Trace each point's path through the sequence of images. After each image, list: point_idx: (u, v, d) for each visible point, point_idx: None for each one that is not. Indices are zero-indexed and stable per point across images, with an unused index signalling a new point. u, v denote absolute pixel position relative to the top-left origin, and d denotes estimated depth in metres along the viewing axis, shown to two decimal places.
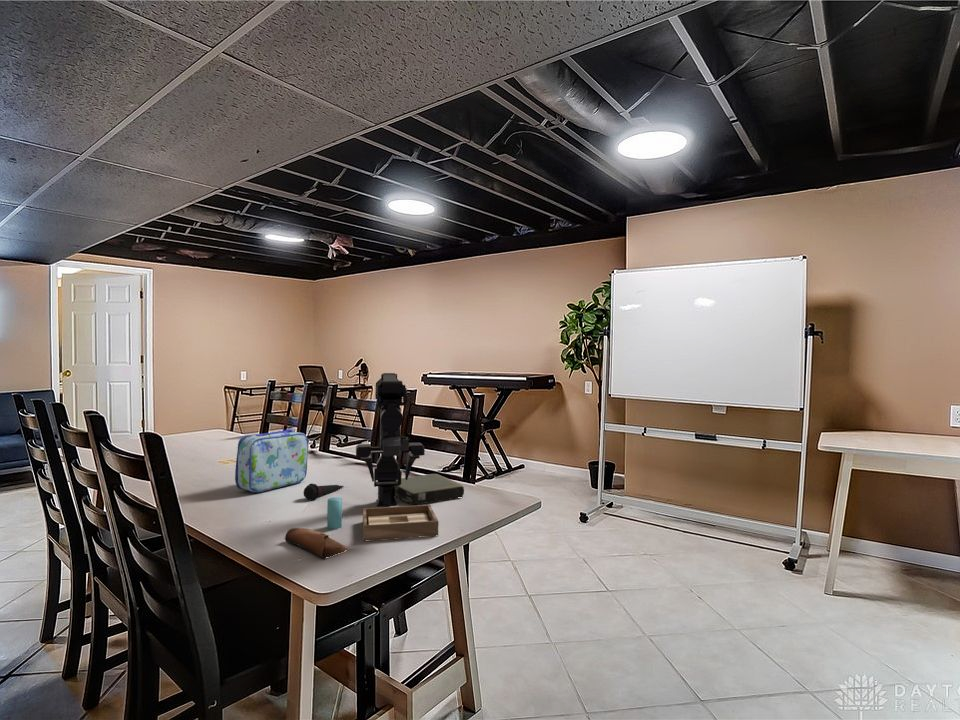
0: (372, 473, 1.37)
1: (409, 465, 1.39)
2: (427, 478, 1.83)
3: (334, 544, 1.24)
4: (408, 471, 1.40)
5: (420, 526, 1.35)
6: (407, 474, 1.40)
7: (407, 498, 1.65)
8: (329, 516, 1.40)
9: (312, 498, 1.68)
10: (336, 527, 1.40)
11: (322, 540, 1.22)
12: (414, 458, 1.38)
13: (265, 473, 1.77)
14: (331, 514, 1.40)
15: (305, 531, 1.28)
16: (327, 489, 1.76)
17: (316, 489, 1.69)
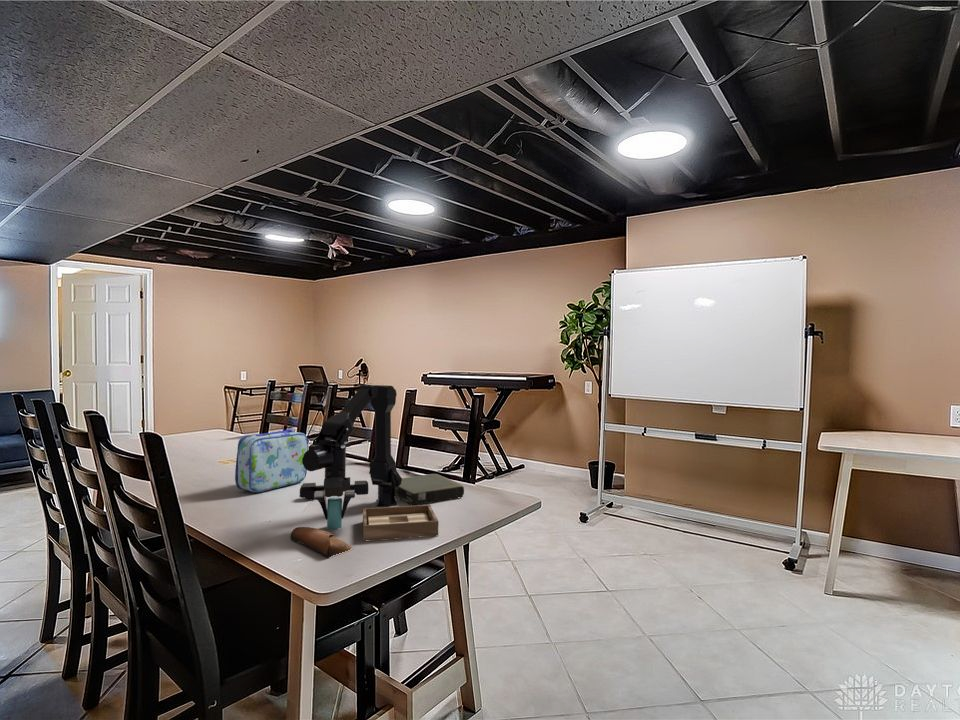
0: (325, 511, 1.41)
1: (345, 504, 1.42)
2: (427, 478, 1.83)
3: (339, 543, 1.25)
4: (344, 510, 1.42)
5: (420, 526, 1.35)
6: (343, 513, 1.42)
7: (407, 498, 1.65)
8: (329, 516, 1.40)
9: (311, 498, 1.69)
10: (336, 527, 1.40)
11: (327, 539, 1.23)
12: (349, 497, 1.40)
13: (265, 473, 1.77)
14: (331, 514, 1.40)
15: (310, 530, 1.29)
16: None
17: None
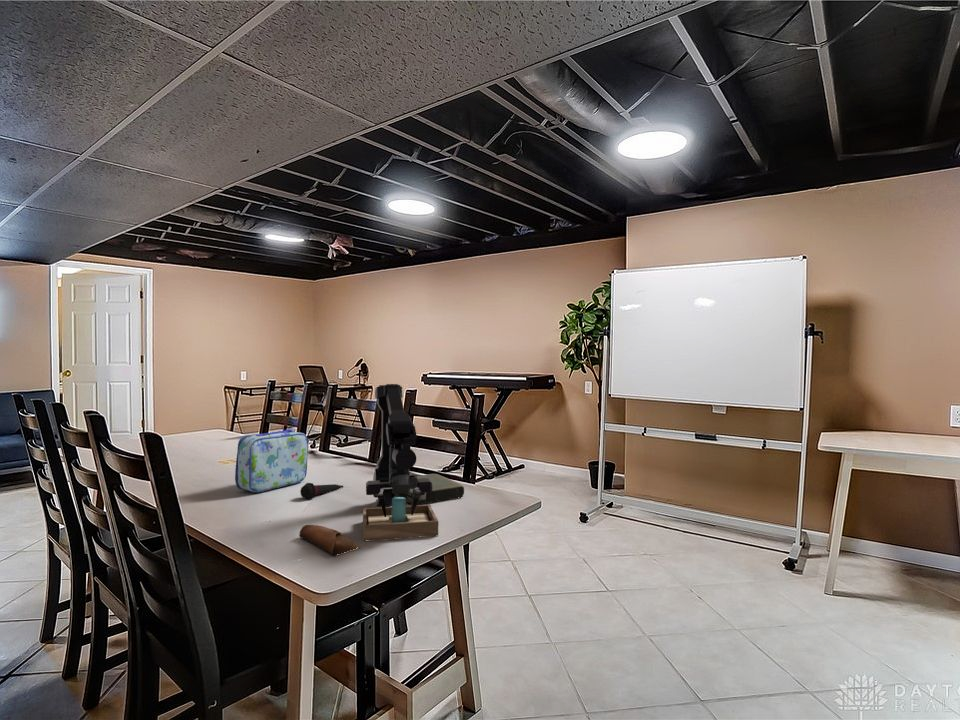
0: (384, 509, 1.42)
1: (415, 501, 1.43)
2: None
3: (345, 542, 1.26)
4: (414, 507, 1.44)
5: (420, 526, 1.35)
6: (413, 510, 1.44)
7: (407, 498, 1.65)
8: (394, 516, 1.42)
9: (308, 497, 1.69)
10: None
11: (333, 537, 1.24)
12: (420, 495, 1.42)
13: (265, 473, 1.77)
14: (396, 513, 1.42)
15: (318, 528, 1.31)
16: (325, 488, 1.76)
17: (312, 488, 1.70)
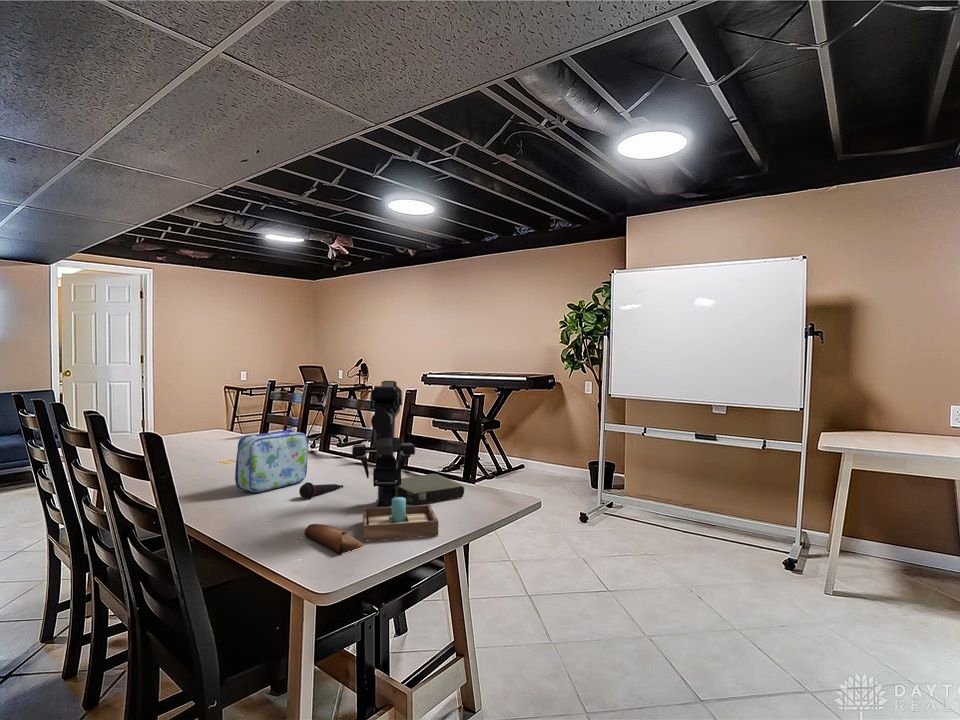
0: (367, 471, 1.50)
1: (401, 463, 1.52)
2: (427, 478, 1.83)
3: (351, 540, 1.27)
4: (400, 469, 1.53)
5: (420, 526, 1.35)
6: (399, 472, 1.53)
7: (408, 498, 1.65)
8: (394, 516, 1.42)
9: (307, 497, 1.70)
10: None
11: (339, 536, 1.25)
12: (405, 457, 1.51)
13: (265, 473, 1.77)
14: (396, 513, 1.42)
15: (323, 527, 1.32)
16: (325, 488, 1.77)
17: (311, 488, 1.70)
